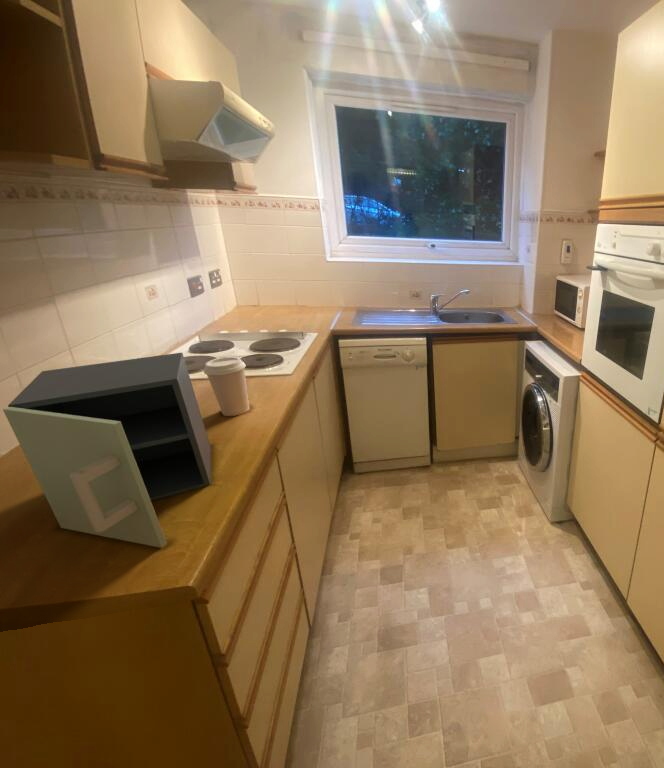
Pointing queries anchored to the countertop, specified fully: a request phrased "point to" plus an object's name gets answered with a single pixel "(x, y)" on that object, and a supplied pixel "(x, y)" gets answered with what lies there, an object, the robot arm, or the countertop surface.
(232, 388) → the coffee cup
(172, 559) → the countertop surface
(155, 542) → the door
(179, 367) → the cupboard
